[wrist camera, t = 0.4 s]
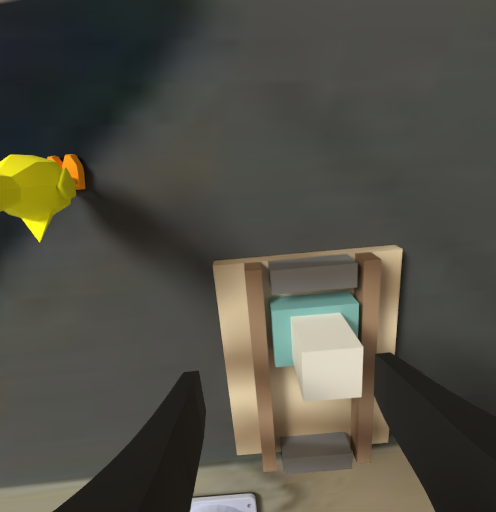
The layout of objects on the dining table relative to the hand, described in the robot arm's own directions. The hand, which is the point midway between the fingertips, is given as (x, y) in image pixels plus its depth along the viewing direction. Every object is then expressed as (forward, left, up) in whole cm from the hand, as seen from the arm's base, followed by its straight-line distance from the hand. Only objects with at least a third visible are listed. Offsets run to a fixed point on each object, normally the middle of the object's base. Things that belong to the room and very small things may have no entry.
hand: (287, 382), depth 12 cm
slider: (-2, -2, -8) cm, 8 cm away
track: (-5, -3, -9) cm, 11 cm away
